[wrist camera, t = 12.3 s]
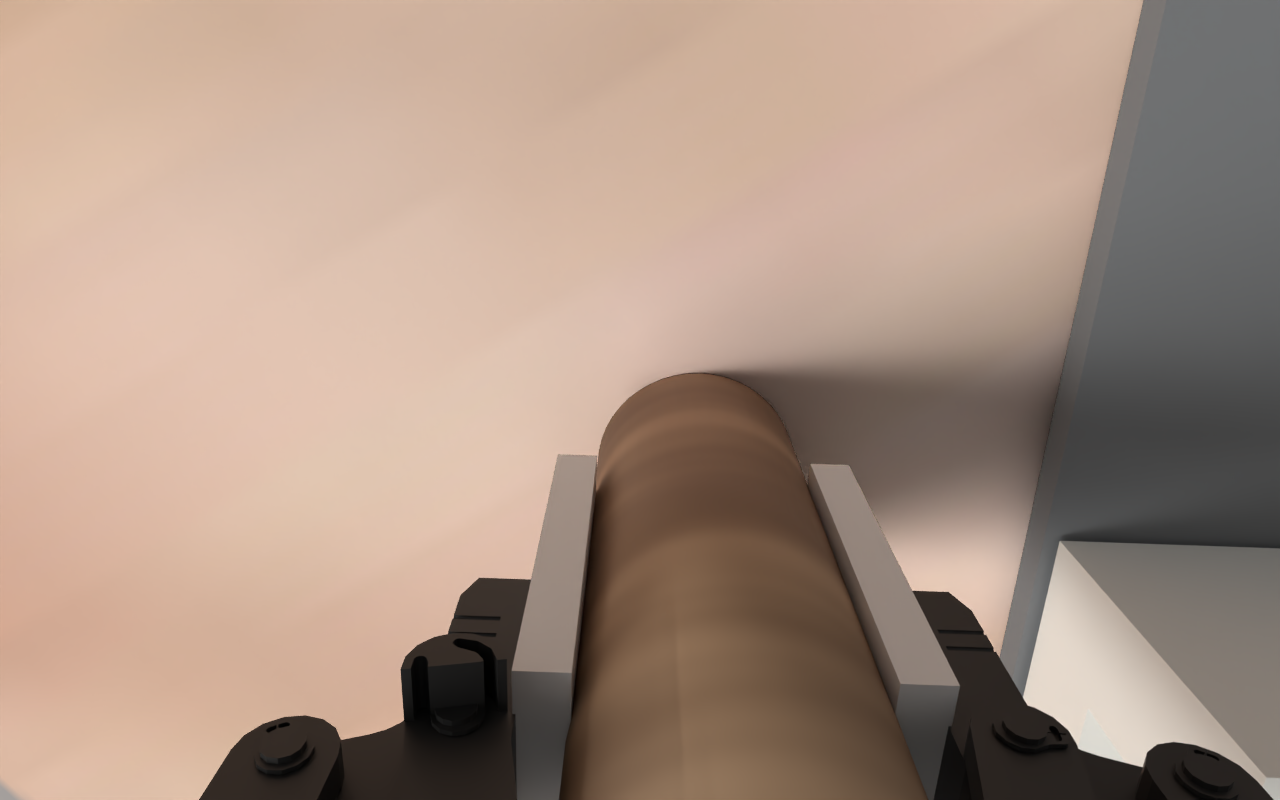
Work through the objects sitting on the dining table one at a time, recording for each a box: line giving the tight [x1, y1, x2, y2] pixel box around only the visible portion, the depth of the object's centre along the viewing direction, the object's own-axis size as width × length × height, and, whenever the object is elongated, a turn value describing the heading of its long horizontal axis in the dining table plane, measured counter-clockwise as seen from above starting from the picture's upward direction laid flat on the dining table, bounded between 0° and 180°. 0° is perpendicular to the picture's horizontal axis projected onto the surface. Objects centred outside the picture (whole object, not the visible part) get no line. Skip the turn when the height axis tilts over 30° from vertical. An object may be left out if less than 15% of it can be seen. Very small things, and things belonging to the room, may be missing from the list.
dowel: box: [559, 373, 928, 800], centre depth 14 cm, size 4×4×14 cm
